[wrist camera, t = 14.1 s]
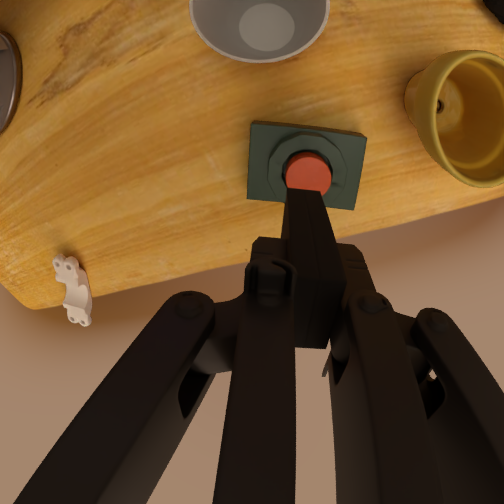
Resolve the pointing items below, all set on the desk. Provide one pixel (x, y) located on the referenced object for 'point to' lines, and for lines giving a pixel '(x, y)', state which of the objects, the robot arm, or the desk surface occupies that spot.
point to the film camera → (496, 8)
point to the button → (308, 173)
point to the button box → (298, 141)
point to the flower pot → (462, 114)
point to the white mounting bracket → (74, 289)
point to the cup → (259, 27)
